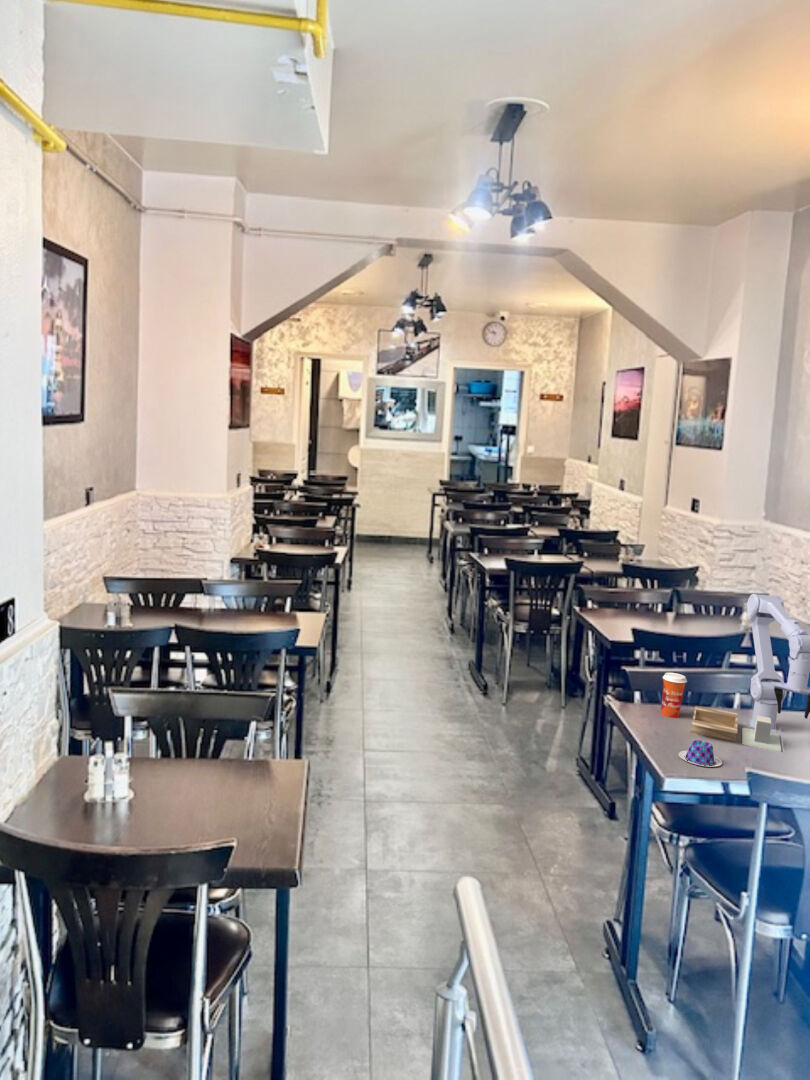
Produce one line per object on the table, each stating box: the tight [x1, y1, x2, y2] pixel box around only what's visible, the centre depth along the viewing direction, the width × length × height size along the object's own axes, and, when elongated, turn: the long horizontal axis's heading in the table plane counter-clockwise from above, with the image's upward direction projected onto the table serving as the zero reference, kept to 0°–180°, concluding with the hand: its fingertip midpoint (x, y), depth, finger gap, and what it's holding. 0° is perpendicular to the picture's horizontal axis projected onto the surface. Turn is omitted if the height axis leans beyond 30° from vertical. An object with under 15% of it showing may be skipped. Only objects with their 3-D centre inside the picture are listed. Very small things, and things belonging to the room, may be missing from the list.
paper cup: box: [660, 672, 688, 719], centre depth 287 cm, size 8×8×14 cm
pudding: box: [678, 740, 723, 768], centre depth 249 cm, size 12×12×5 cm
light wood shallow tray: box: [690, 705, 739, 742], centre depth 275 cm, size 21×13×4 cm, turn 159°
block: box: [754, 716, 772, 744], centre depth 269 cm, size 8×4×6 cm, turn 159°
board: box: [741, 727, 782, 753], centre depth 270 cm, size 16×11×1 cm
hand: (792, 715), depth 269 cm, fingers open, 7 cm apart
